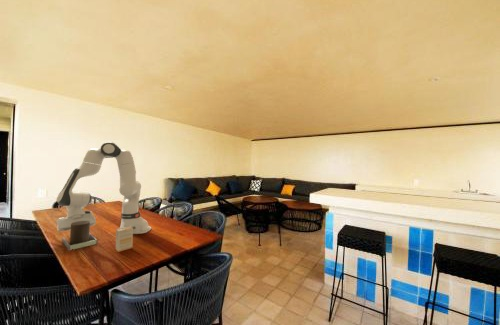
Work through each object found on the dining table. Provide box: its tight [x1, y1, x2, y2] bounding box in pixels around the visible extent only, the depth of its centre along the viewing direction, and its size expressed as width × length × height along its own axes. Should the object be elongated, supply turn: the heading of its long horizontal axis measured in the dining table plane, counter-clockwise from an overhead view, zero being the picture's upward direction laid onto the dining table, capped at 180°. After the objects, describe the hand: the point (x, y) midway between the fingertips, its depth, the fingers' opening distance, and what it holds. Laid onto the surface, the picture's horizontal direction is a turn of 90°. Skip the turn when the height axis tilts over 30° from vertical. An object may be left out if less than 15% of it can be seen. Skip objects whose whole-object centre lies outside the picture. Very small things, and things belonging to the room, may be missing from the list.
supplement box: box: [115, 226, 134, 253], centre depth 126 cm, size 8×5×13 cm, turn 141°
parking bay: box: [61, 232, 98, 251], centre depth 133 cm, size 20×14×2 cm
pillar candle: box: [69, 221, 91, 245], centre depth 132 cm, size 10×10×15 cm
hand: (78, 233), depth 135 cm, fingers closed, pressing on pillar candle
